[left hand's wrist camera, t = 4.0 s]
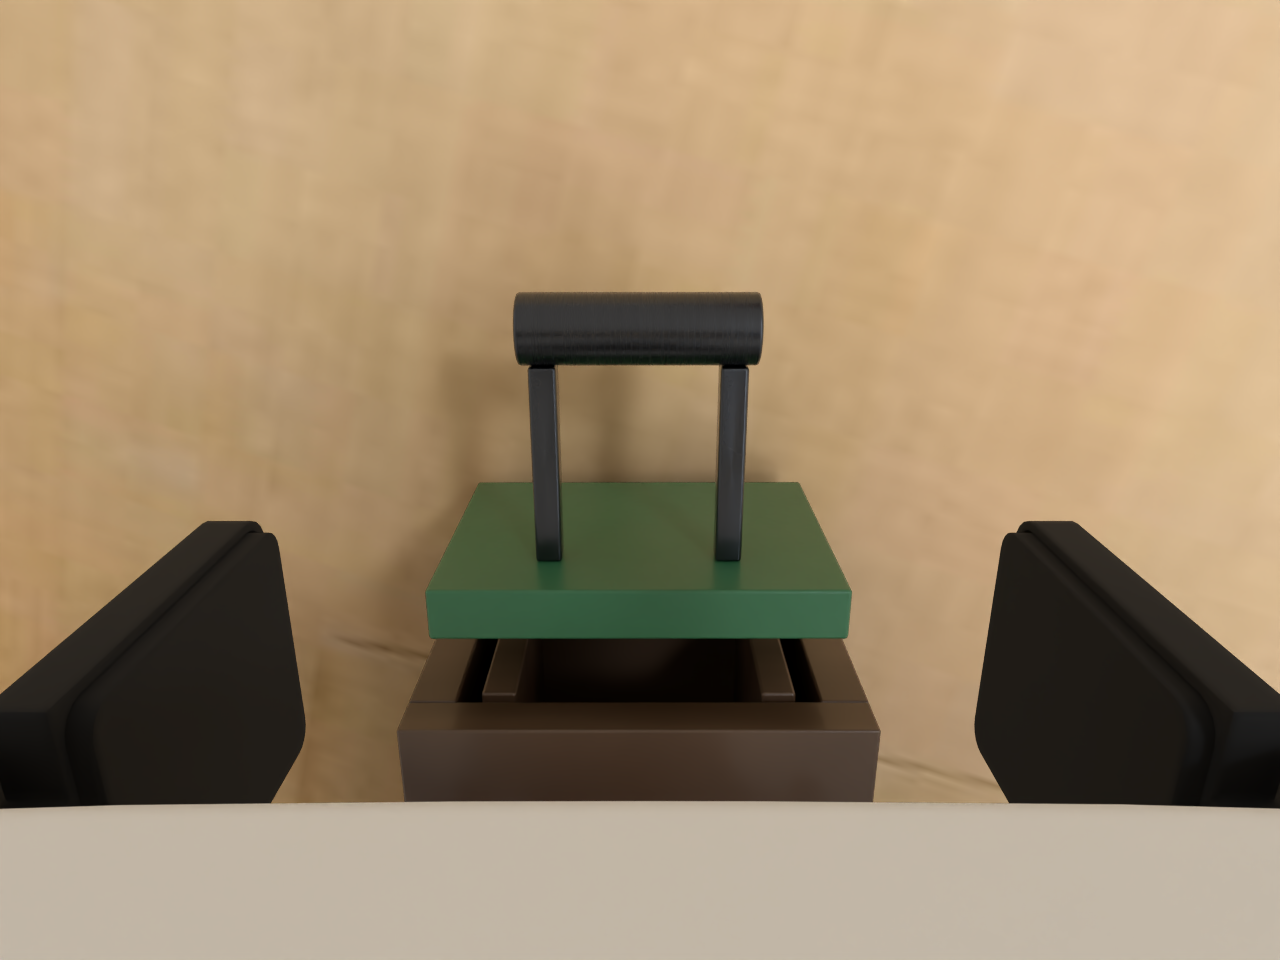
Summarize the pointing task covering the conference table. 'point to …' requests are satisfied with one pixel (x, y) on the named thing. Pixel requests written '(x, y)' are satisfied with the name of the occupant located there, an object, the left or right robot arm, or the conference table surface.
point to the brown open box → (638, 739)
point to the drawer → (638, 534)
